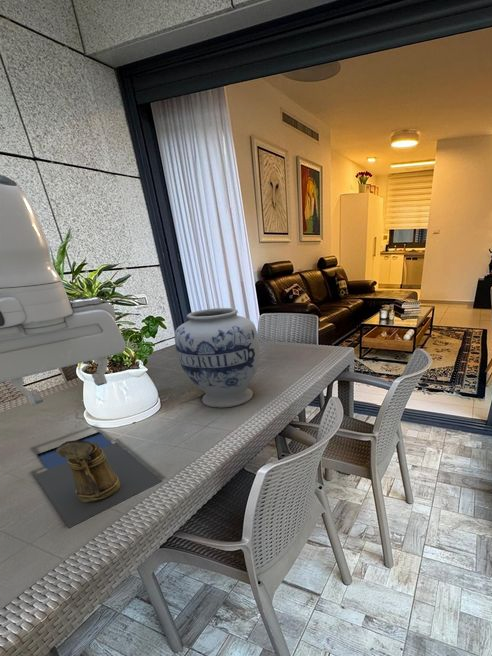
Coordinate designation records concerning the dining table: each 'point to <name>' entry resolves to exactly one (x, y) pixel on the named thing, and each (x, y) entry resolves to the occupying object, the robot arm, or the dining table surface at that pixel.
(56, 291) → the robot arm
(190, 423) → the dining table surface
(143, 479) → the plate
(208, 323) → the apothecary jar
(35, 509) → the dining table surface
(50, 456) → the mat
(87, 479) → the wooden mug
